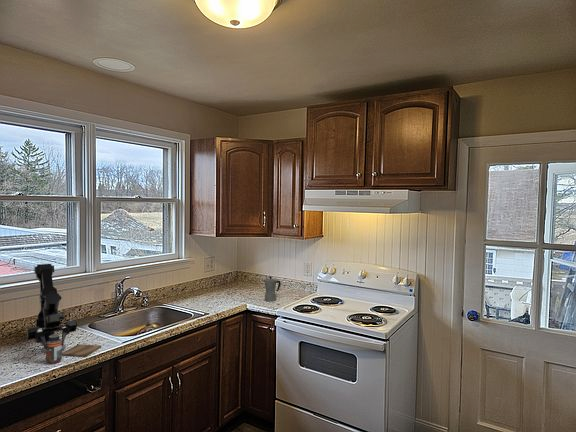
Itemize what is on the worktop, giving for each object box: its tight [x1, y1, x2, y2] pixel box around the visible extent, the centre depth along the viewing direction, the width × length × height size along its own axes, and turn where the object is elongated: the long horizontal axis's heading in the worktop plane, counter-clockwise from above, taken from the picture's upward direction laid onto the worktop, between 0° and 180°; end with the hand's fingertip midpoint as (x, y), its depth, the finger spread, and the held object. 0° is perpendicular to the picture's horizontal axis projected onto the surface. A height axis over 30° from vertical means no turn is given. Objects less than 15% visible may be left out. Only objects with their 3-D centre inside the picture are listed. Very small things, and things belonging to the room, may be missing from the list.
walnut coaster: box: [62, 344, 102, 358], centre depth 177 cm, size 12×12×1 cm
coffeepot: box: [262, 276, 282, 303], centre depth 280 cm, size 15×9×18 cm, turn 61°
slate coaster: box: [40, 343, 66, 354], centre depth 180 cm, size 10×10×1 cm
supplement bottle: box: [45, 333, 63, 364], centre depth 165 cm, size 6×6×11 cm
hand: (54, 347), depth 164 cm, fingers closed on supplement bottle, 6 cm apart
